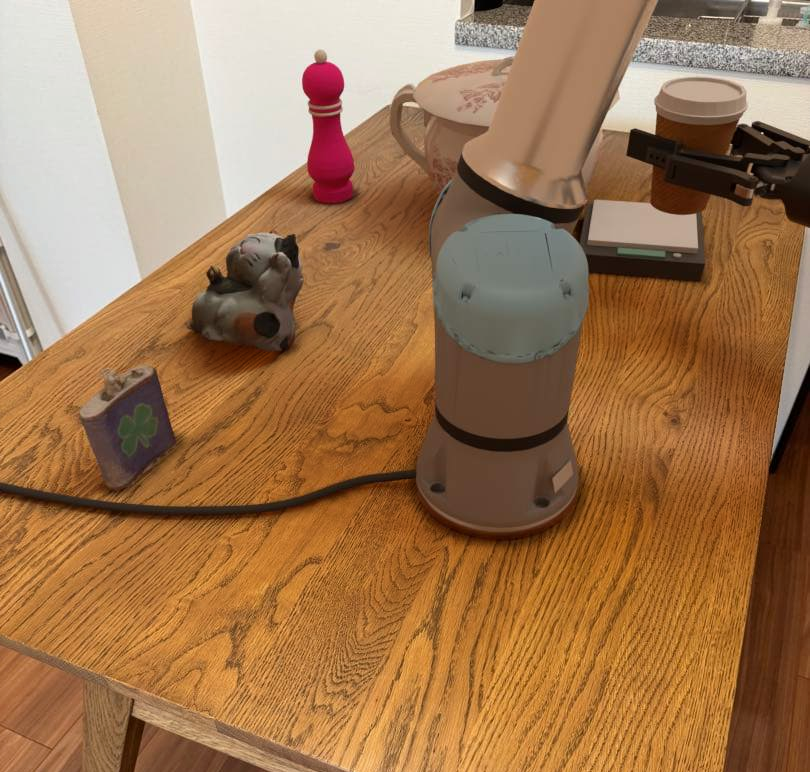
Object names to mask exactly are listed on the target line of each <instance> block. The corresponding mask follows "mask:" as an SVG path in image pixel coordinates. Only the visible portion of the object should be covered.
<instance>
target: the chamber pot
mask: <svg viewBox="0 0 810 772" xmlns="http://www.w3.org/2000/svg"><path fill="white" fill-rule="evenodd" d="M514 57H515V55H512V56H508V57H505V58H502V59H501V58H500V59H490V60H480V61H479V60H478V61H474V62H469V63H463V64H458V65H456V66H452V67H449V68H446V69H442V70H440V71H438V72H435V73H432V74H430V75H428V76H427V77H426V78H424V79H422V80H421V81H420V82H418V83H417V85H416V86H415V85H414V84H413V83H407V84H406V85H404V86H402V87H401V88H400V89H398V91H397V92H396V93H395V95H394V96H393V98H392V101H391V103H390V105H389V114H388V115H389V116H388V119H389V120H388V123H389V127H390V131H391V135H392V137H393V138H394V140H395V141H396V142H397V143H398V145H399V147H400V148H401V149H402V151H403V152H404V154H406V155H407V156H408V157H409V158H410V159H411V160H412V161H413V162H414V163H416V164H417V165H418V166H419V167H420V168H421V169H422V170H423V171H424V172H425V174H426V175H427V176H428V177H429V180H430V181H431V184H432V186H433V188H434V189H435V191H436V193H437V194H438V197H439V196H440V194H441V193H442V191H443V189H444V188H445V186H446V185H447V184H448V183H449V182H450V181H451V179H452V178H453V176H454V173H455V170H456V168H457V165H458V162H459V159H460V156H461V153H462V150H463V148H464V145H465V144H466V143H467V142H468V141H470V140H472V139H474V138H476V137H478V136H480V135H482V134H484V133H486V132H487V131H488V130H489V127H490V124H491V121H492V119H493V116H494V113H495V110H496V107H497V105H498V102H499V99H500V96H501V93H502V91H503V88H504V85H505V82H506V79H507V77H508V74H509V71H510V68H511V65H512V63H513V60H514ZM620 99H621V97H620V91H619V89H618V90H617V93H616V95H615V97H614V99H613V102H612V104H611V106H610V108H609V110H608V112H609V111H611V110H612V109H613V107H614V106H615V105H616V104H617V103H618V102H619V100H620ZM405 103H415V104H417V105H418V107H419V108H420V109H422V110H423V126H424V128H425V129H424V132H423V134H424V135H423V137H424V138H423V139H424V140H423V141H424V144H423V145H424V148H423V149H424V151H423V150H421V149H420V148H419V147H417V146H416V144H415V143H414V142H413V140H412V139H411V138H410V136H409V134H408V133H407V132H406V131H405V127H404V124H403V120H402V114H403V113H402V110H403V107H404V104H405ZM602 126H603V125H602ZM602 126H601V128H600V130H599V133H598V135H597V137H596V139H595V141H594V144H593V146H592V148H591V150H590V152H589V155H588V157H587V159H586V161H585V163H584V166H583V168H582V176H583V179H584V182H585V185H586V188H587V189H588V188H589V186H590V184H591V183H592V179H593V177H594V174H595V171H596V169H597V166H598V162H599V159H600V156H601V150H602V145H603V144H602V143H603V137H604V136H603V134H604V133H603V127H602Z"/></svg>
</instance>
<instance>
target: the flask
mask: <svg viewBox="0 0 810 772" xmlns="http://www.w3.org/2000/svg"><path fill="white" fill-rule="evenodd" d="M100 374H104V375H103V376H102V377H103V379H104V382H103V388H101V390H99V391H98V392H97V393H96V394H94V395H93V396H92V397H91V398H90V399H89V400H88V401H87V402H86V403H84V405H83V406H82V407H80V409H79V411H78V417H79V419H80V423H81V425H82V427H83V428H84V431H85V434H86V437H87V440H88V442H89V445H90V447H91V450H92V453H93V455H94V457H95V460H96V461H97V464H98V468H99V470H100V472H101V475H102V477H103V481H104V484H105V486H106V487H107V488H108V489H109V490H111V491H115V492H117V493H119V492H120V491H121V490H124V489H126V488H129V487H130V486H132V485H134V484H135V480H137V479H138V478H139V477H140V476H142V475H143V474H145V473H146V472H148V471H149V470H151V468H152V466H153V464H154V463H155V462H156V461H160V459H161V457H162V456H164V455H167V454H168V453H169V452H170V451H172V449H174V448H176V446H177V439H176V436H175V433H174V430H173V427H172V423H171V419H170V414H169V411H168V408H167V406H166V401H165V398H164V393H163V390H162V385H161V382H160V380H159V376H158V370H157V369H156V367H153V366H150V365H144V364H143V365H138V366H136V367H131V369H129V370H128V371H127V372H125V373H124V374H122V375H119V374H118V375H116V374H117V373H116V372H115V370H114V369H110V367H106V368H103V369H102V370H101V371H100ZM100 374H98V375H97V378H98V379H100V378H101V375H100Z"/></svg>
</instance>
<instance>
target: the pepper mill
mask: <svg viewBox="0 0 810 772" xmlns="http://www.w3.org/2000/svg"><path fill="white" fill-rule="evenodd" d="M313 56H314V57H313V58H314V61H315V62H313V63H311V64H309V65H307V67H306V68H305V69H304V71H303V73H302V77H301V87H302V91H303V94H304V95H305V96H306V97H307V98H308V101H307V105H308V111H307V112H308V113H309V115H311V119H312V138H311V144H310V146H309V150H308V154H307V161H306V168H307V174H308V176H309V177H310V178H311V179H312V181H314V182H313V184H312V194H313V195H312V196H313V198H314V200H315V201H316V202H320V203H322V204H340V203H344V202H346V201H348V200H350V199H351V198H353V196H354V183H353V182H352V181H351V180H350V179H351V178H352V176H353V174H354V172H355V169H356V167H355V159H354V157H353V154H352V151H351V148H350V147H349V144H348V143H347V140H346V138H345V135H344V132H343V127H342V122H341V121H342V120H341V113H342V112H343V110H344V107H343V105H342V104H343V100H342V99H341V96H342V94H343V93H344V90H345V78H344V74H343V73H342V70H341V69H340V67H339V66H337V65H336V64H335V63H333V62H330V61H328V54H327V52H326V51H325V50H324V49H321V48H319V49H317V50H316V51H315V52H314V55H313Z"/></svg>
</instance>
